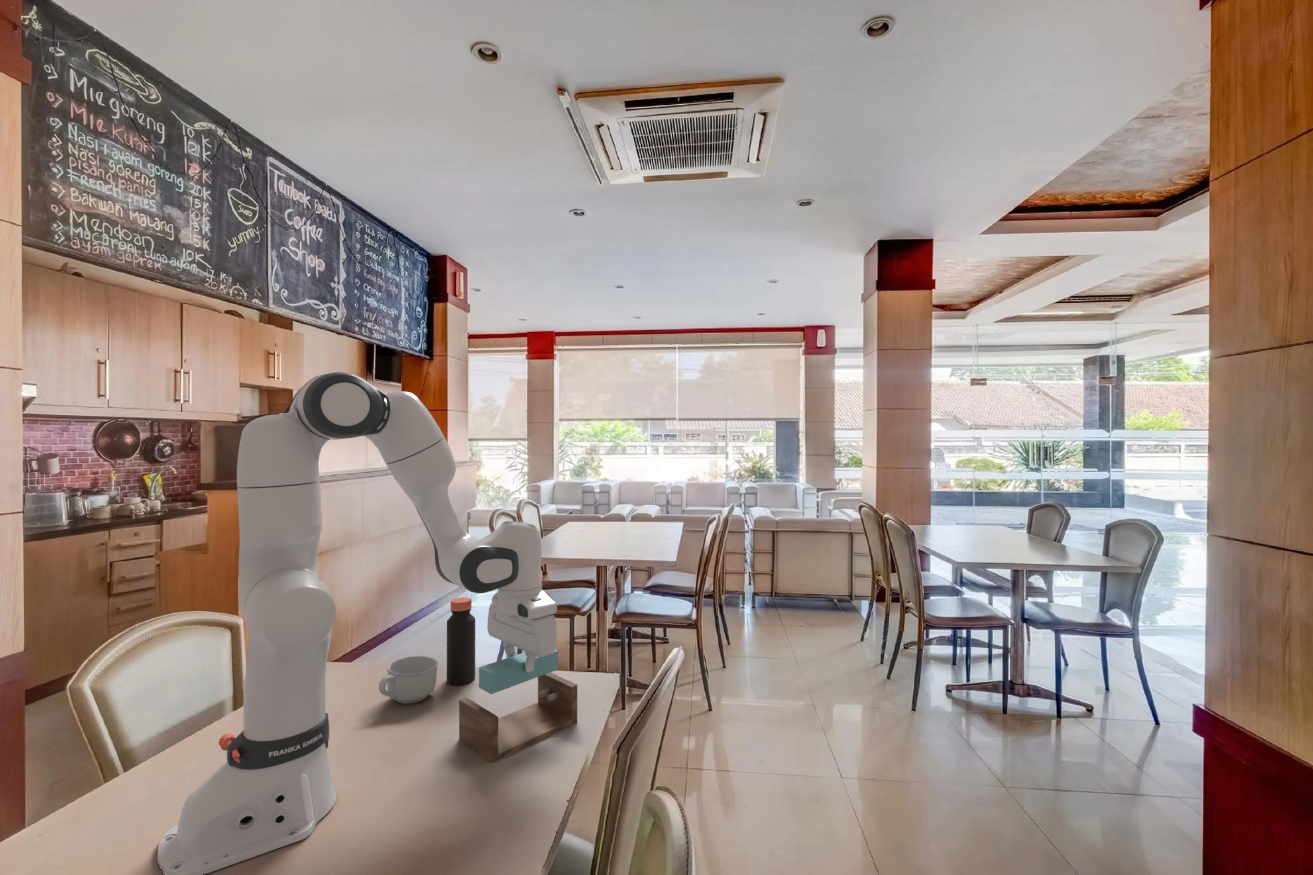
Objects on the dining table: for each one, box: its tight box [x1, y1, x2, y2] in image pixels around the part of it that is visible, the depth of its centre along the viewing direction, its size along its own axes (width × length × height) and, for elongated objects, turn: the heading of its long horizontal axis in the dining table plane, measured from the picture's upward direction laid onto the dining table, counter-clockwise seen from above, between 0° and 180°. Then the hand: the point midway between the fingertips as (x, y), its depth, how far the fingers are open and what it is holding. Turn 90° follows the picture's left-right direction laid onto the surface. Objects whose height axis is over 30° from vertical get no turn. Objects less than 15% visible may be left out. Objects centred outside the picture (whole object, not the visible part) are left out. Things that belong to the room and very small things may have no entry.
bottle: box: [446, 596, 476, 686], centre depth 140 cm, size 7×7×20 cm
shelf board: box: [478, 649, 559, 695], centre depth 116 cm, size 16×4×4 cm, turn 137°
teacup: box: [378, 655, 439, 705], centre depth 129 cm, size 14×11×8 cm
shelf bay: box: [458, 672, 578, 764], centre depth 116 cm, size 20×12×8 cm, turn 137°
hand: (520, 666), depth 116 cm, fingers closed on shelf board, 4 cm apart
